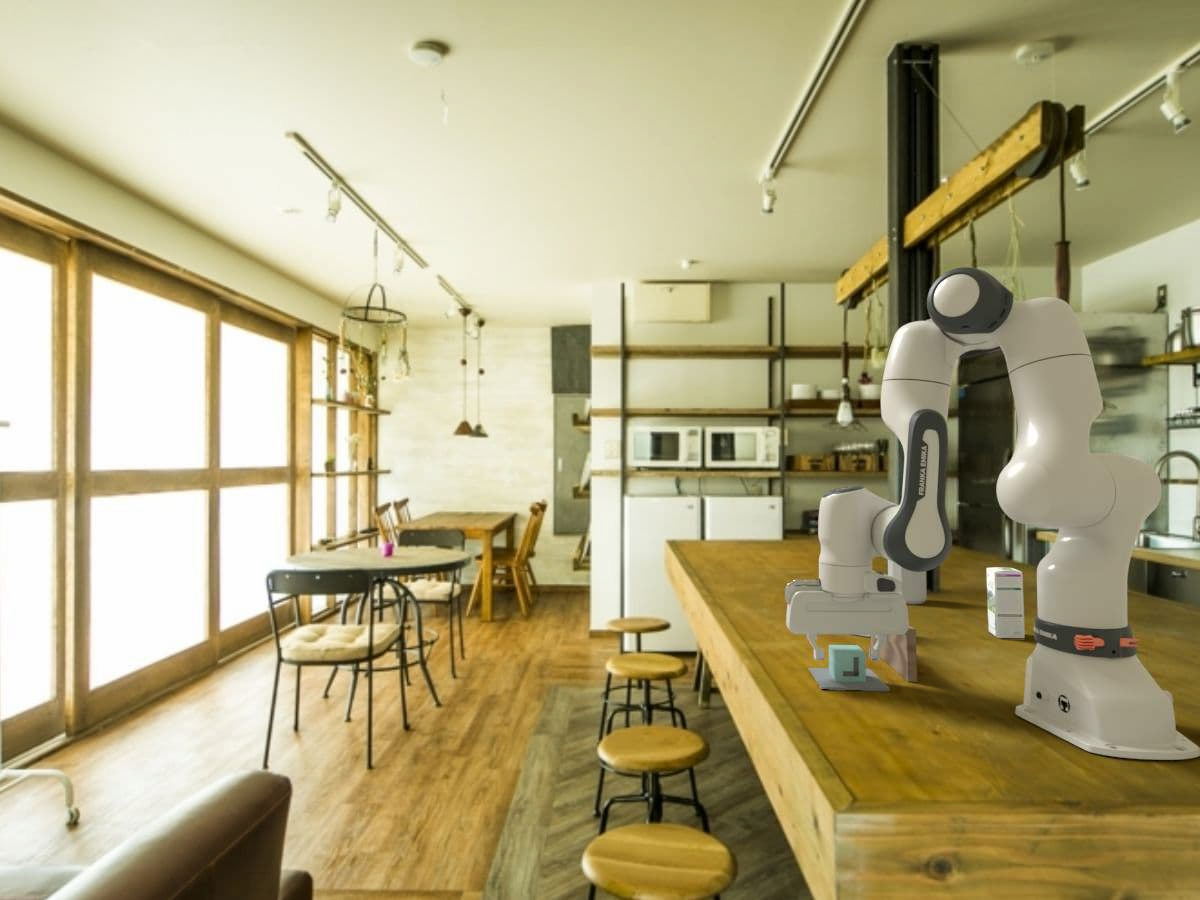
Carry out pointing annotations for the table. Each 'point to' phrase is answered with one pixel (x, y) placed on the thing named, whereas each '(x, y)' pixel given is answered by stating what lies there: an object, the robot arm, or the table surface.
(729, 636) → the table surface
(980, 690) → the table surface
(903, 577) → the jar
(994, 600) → the syrup box
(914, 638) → the walnut screen
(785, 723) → the table surface
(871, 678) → the slate pad
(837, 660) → the letter block
